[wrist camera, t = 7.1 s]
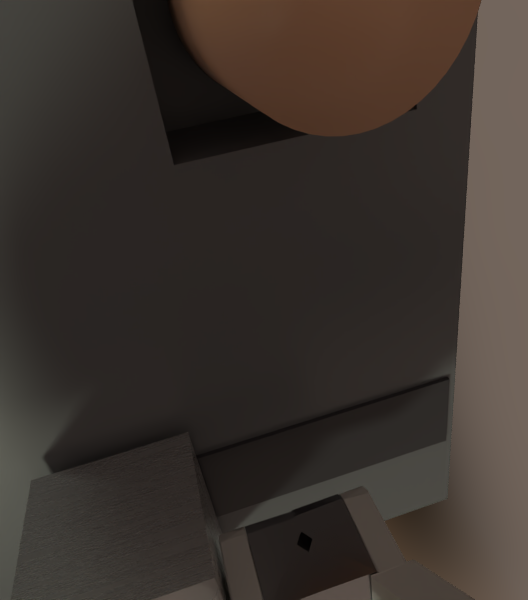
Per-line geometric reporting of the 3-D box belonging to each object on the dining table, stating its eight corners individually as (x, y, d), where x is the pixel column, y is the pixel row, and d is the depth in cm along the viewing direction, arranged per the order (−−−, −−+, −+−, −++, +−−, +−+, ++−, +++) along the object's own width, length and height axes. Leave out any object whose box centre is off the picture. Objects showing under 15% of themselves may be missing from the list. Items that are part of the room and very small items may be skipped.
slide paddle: (100, 593, 11) (97, 757, 9) (30, 480, 9) (1, 652, 7) (227, 550, 12) (258, 694, 9) (187, 432, 10) (214, 577, 7)
